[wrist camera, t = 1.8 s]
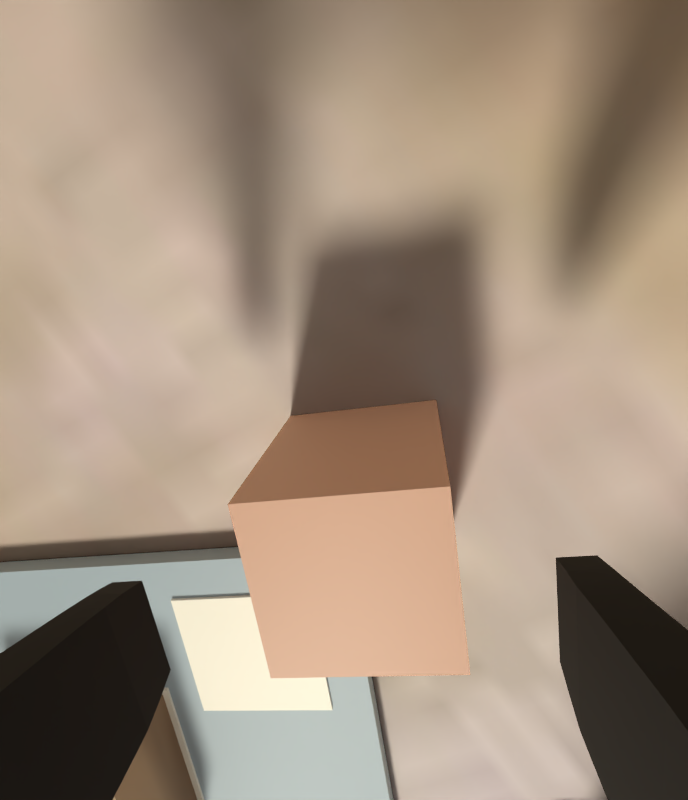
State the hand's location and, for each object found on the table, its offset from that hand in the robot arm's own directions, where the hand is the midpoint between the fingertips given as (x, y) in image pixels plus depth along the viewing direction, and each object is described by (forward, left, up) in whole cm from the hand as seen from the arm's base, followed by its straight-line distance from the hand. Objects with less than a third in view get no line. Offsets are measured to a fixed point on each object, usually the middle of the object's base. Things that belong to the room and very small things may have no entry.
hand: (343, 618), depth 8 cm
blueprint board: (+9, +8, -6) cm, 13 cm away
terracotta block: (0, 0, -6) cm, 6 cm away
